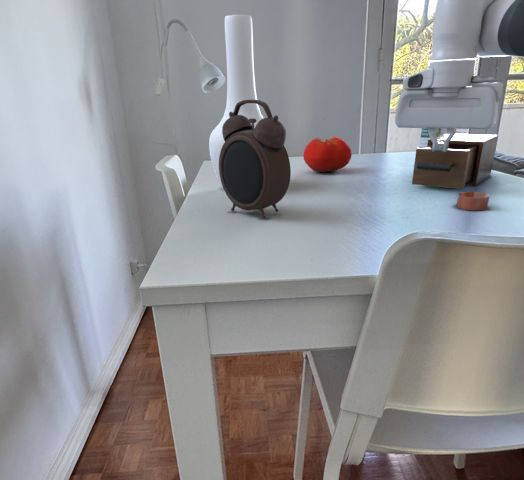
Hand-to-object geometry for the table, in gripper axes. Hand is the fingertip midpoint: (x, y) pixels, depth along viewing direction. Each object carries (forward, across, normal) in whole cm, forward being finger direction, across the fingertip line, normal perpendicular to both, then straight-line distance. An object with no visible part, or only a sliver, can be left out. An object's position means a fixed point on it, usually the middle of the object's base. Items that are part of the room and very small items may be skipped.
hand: (439, 151), depth 101 cm
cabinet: (+9, 0, -19) cm, 21 cm away
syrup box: (+9, +13, -37) cm, 40 cm away
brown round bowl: (+8, -11, +10) cm, 17 cm away
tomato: (+9, +35, -14) cm, 39 cm away
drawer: (+8, 0, -6) cm, 10 cm away
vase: (+8, +42, +14) cm, 45 cm away
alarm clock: (+8, +24, +35) cm, 44 cm away
